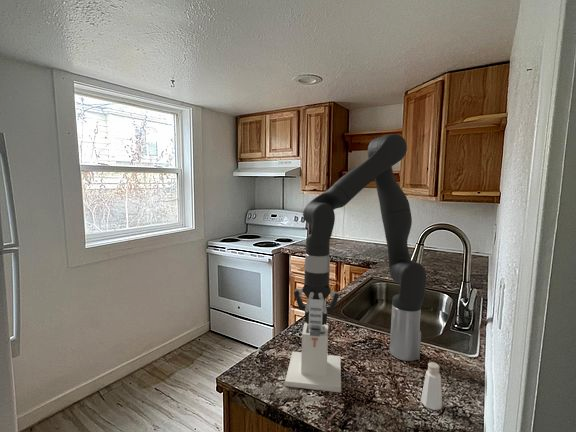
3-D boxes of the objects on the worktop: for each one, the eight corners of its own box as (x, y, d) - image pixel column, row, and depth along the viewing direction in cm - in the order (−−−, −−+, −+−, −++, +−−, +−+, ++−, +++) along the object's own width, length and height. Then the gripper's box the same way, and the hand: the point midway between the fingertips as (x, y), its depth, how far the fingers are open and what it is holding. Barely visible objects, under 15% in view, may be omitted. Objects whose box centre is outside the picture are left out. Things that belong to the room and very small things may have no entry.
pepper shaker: (435, 413, 78) (438, 373, 77) (416, 401, 82) (418, 363, 81) (446, 405, 81) (449, 366, 80) (427, 393, 85) (429, 356, 84)
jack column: (321, 362, 96) (323, 295, 94) (320, 370, 91) (322, 300, 89) (308, 361, 96) (310, 294, 94) (307, 369, 92) (309, 299, 90)
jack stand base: (340, 360, 101) (341, 316, 99) (341, 392, 85) (342, 341, 84) (292, 355, 103) (293, 312, 102) (284, 386, 88) (285, 335, 86)
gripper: (340, 266, 94) (339, 320, 95) (295, 264, 96) (294, 316, 97) (341, 273, 86) (339, 331, 88) (291, 270, 88) (290, 327, 90)
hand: (315, 323), depth 93 cm, fingers closed on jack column, 4 cm apart
